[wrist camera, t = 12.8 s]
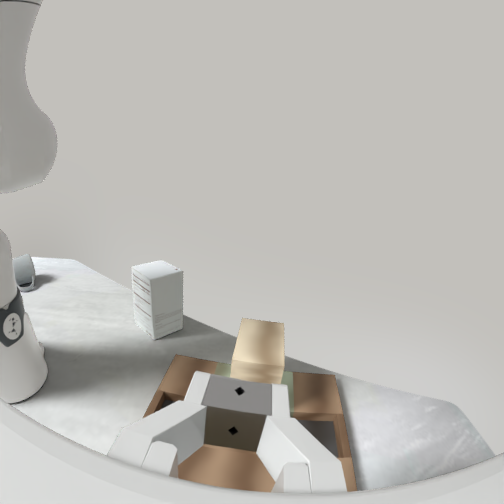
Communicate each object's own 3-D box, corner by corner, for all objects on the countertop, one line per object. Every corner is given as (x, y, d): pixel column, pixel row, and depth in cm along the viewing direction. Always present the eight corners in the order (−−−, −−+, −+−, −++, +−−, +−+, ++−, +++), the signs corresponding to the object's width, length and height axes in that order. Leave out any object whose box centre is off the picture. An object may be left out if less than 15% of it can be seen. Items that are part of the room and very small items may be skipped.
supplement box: (162, 314, 60) (162, 258, 56) (184, 329, 55) (184, 270, 52) (133, 324, 54) (130, 265, 51) (153, 341, 50) (150, 278, 46)
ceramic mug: (6, 282, 58) (2, 256, 56) (29, 275, 65) (26, 250, 63) (16, 296, 53) (11, 268, 51) (41, 288, 60) (37, 260, 58)
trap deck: (119, 478, 22) (115, 471, 21) (176, 363, 45) (175, 354, 44) (352, 509, 20) (359, 502, 20) (331, 383, 43) (334, 374, 43)
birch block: (227, 410, 34) (231, 359, 31) (237, 366, 43) (242, 318, 41) (272, 416, 34) (284, 366, 31) (274, 371, 43) (284, 323, 41)
